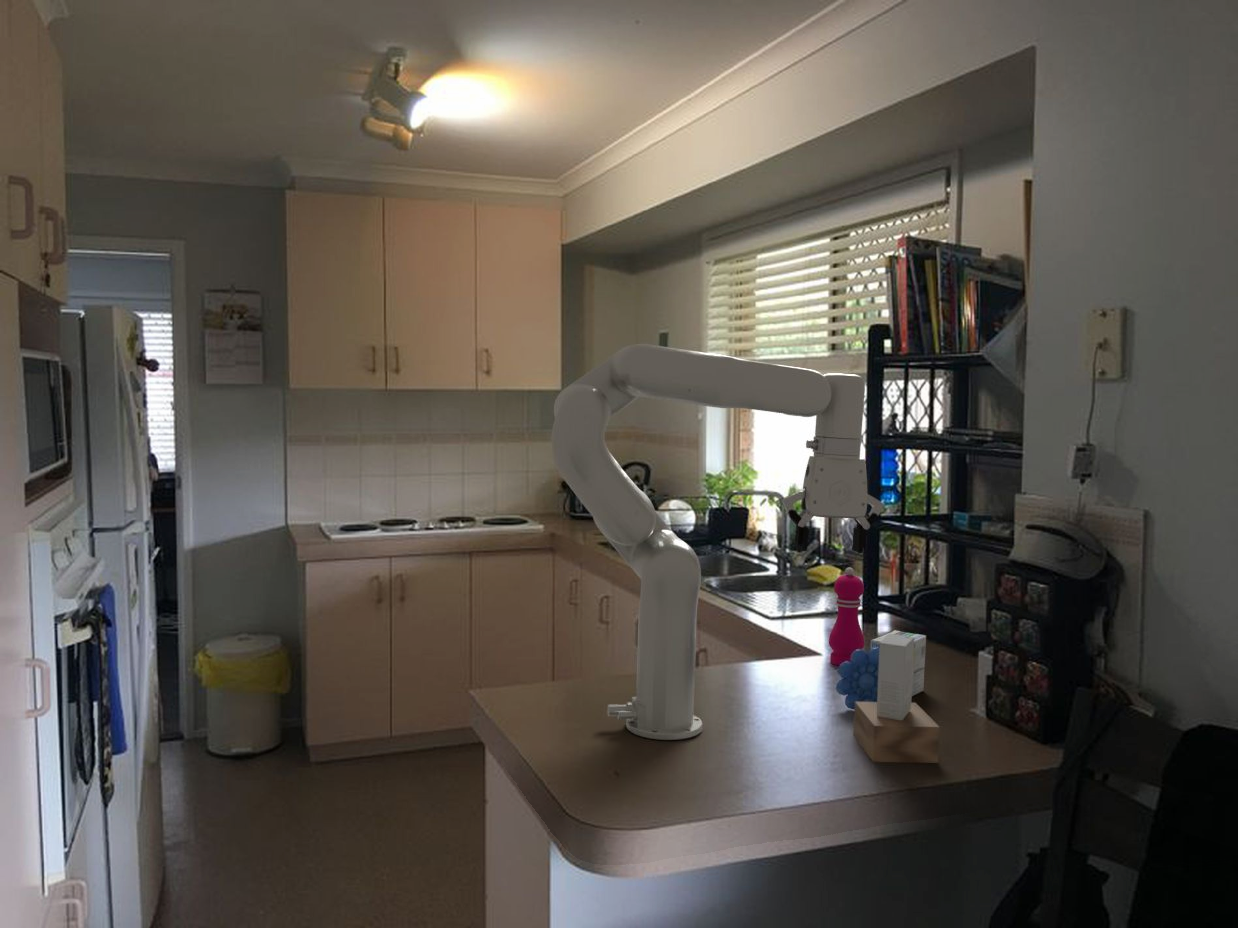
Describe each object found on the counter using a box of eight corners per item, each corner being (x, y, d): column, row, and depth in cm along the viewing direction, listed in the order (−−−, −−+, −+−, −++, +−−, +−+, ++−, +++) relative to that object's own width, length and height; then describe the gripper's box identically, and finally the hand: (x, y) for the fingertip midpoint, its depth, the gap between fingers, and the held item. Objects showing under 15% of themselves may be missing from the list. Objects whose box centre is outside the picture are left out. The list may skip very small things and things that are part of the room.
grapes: (907, 713, 182) (910, 646, 182) (896, 723, 177) (899, 654, 176) (843, 701, 188) (846, 636, 188) (830, 710, 183) (833, 643, 182)
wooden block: (872, 764, 159) (874, 725, 158) (853, 737, 171) (854, 701, 170) (937, 765, 159) (939, 726, 158) (913, 738, 171) (915, 702, 170)
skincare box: (884, 704, 168) (888, 632, 166) (911, 709, 166) (915, 636, 164) (875, 716, 162) (878, 642, 161) (902, 721, 160) (906, 646, 159)
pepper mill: (851, 657, 219) (855, 563, 218) (870, 666, 212) (874, 569, 211) (821, 659, 217) (825, 564, 215) (839, 668, 210) (843, 571, 208)
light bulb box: (891, 683, 201) (894, 628, 200) (924, 691, 196) (927, 635, 195) (866, 695, 192) (869, 638, 191) (900, 703, 188) (903, 645, 187)
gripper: (793, 447, 167) (786, 553, 168) (895, 452, 169) (888, 556, 171) (779, 444, 174) (773, 545, 175) (878, 449, 177) (870, 548, 178)
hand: (829, 550), depth 173 cm, fingers open, 9 cm apart
